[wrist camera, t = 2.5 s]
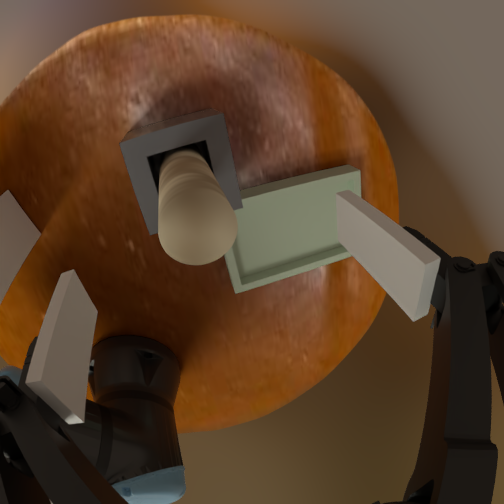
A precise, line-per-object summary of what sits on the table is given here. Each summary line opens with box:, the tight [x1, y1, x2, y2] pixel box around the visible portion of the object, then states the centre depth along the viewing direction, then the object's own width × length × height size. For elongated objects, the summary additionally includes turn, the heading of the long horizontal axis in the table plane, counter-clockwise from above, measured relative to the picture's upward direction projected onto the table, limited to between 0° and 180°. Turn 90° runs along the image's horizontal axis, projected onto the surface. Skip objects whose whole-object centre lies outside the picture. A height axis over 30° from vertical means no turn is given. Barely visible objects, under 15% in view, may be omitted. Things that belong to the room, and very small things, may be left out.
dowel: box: [158, 143, 238, 265], centre depth 24 cm, size 4×4×17 cm
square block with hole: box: [119, 108, 243, 235], centre depth 29 cm, size 9×9×7 cm
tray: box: [224, 164, 361, 294], centre depth 38 cm, size 18×12×3 cm, turn 100°
